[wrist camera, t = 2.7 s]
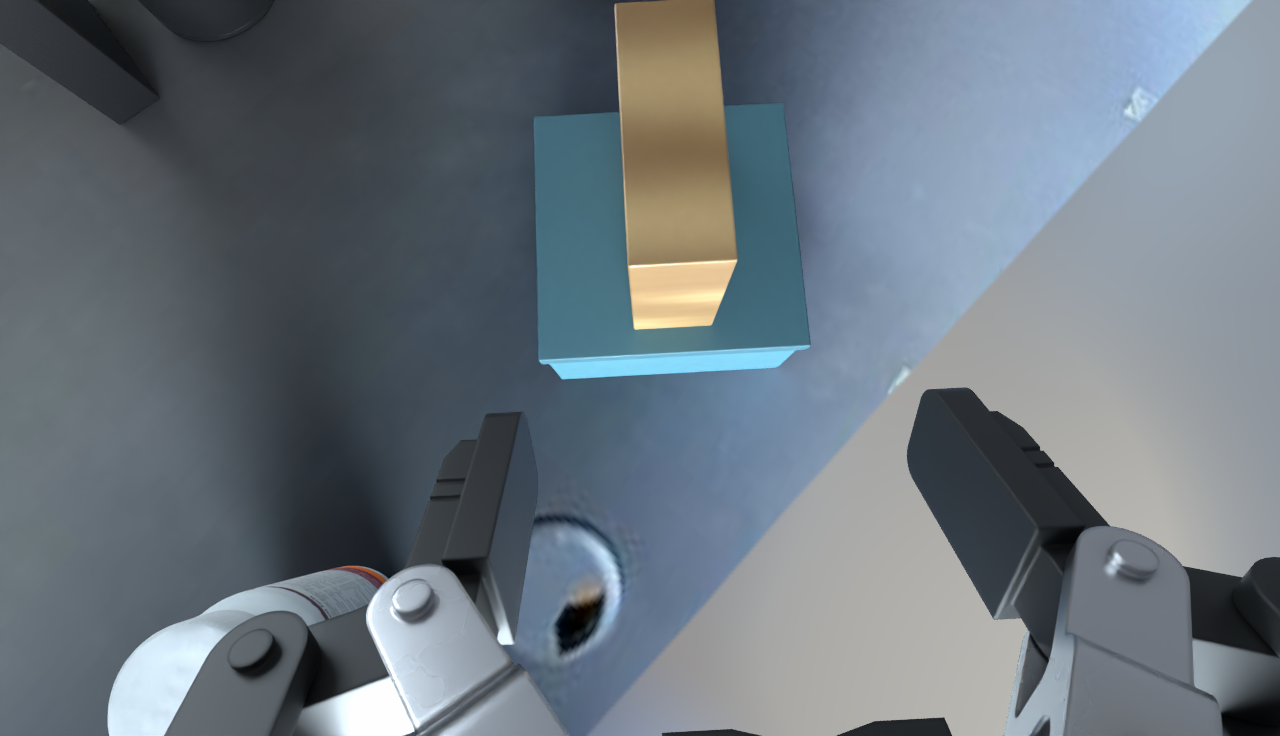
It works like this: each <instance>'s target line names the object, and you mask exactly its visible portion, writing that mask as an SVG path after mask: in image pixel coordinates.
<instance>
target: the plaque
mask: <svg viewBox="0 0 1280 736" xmlns="http://www.w3.org/2000/svg"><path fill="white" fill-rule="evenodd" d="M614 14H615V33H616V52H617V72H618V91H619V110H620V129H621V149H622V168H623V187H624V206H625V226H626V245H627V264H628V275H629V286H630V296H631V307H632V317H633V328H634V329H635V330H638V329H656V328H674V327H693V326H710V325H712V323H713V321H714V318H715V316H716V313H717V311H718V308H719V306H720V303H721V301H722V298H723V296H724V293H725V291H726V288H727V286H728V283H729V281H730V278H731V276H732V273H733V271H734V268H735V265H736V263H737V260H738V256H737V245H736V234H735V223H734V211H733V200H732V189H731V178H730V167H729V156H728V145H727V134H726V123H725V112H724V101H723V90H722V79H721V68H720V56H719V45H718V34H717V23H716V12H715V1H714V0H665V1H647V2H630V3H616V4H615V6H614Z"/></svg>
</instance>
